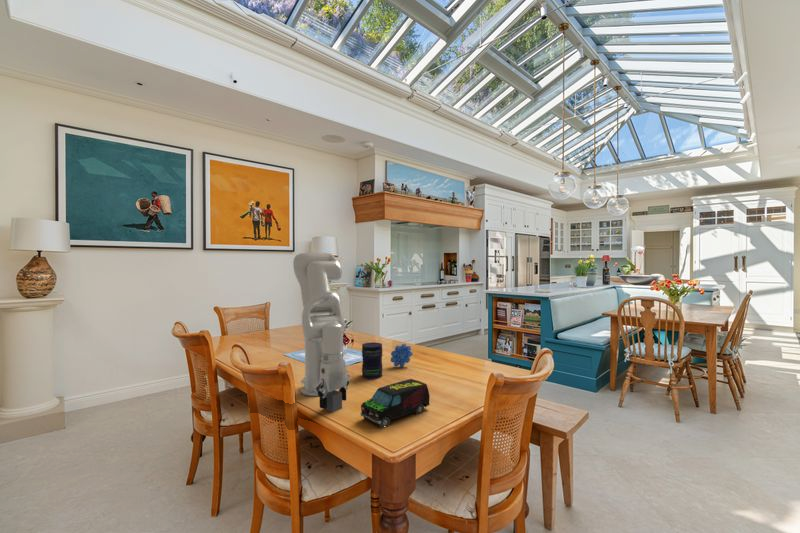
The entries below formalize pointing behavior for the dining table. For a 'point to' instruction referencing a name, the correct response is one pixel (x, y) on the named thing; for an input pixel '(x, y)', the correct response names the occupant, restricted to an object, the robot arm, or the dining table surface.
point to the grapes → (401, 355)
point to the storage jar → (372, 360)
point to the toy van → (396, 401)
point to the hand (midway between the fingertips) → (333, 403)
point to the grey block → (334, 401)
